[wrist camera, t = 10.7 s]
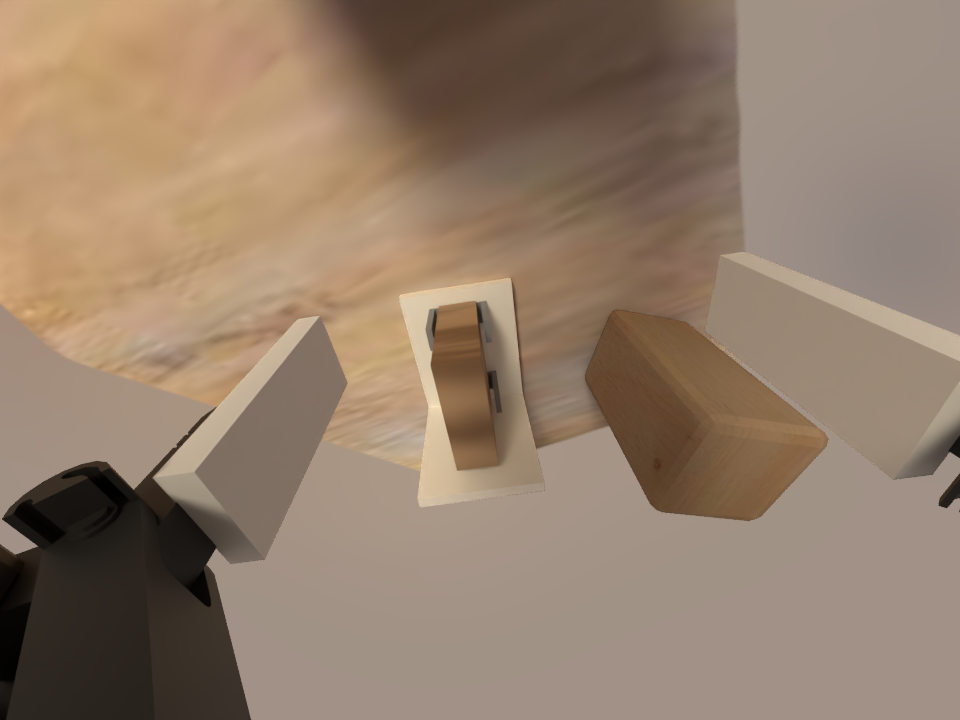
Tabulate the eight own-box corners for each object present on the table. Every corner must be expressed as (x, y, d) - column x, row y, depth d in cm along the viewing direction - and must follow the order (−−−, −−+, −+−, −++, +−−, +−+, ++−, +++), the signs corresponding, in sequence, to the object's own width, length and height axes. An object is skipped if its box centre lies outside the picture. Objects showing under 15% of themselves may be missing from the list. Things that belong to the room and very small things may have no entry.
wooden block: (580, 377, 46) (650, 516, 29) (610, 305, 41) (716, 421, 24) (651, 388, 47) (759, 527, 30) (689, 320, 42) (843, 439, 25)
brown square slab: (438, 306, 39) (430, 365, 28) (475, 300, 38) (480, 358, 28) (458, 395, 45) (457, 470, 34) (490, 391, 45) (498, 465, 34)
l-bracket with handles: (400, 294, 39) (370, 368, 26) (510, 277, 39) (534, 344, 26) (431, 408, 48) (420, 507, 35) (522, 396, 47) (544, 490, 34)
